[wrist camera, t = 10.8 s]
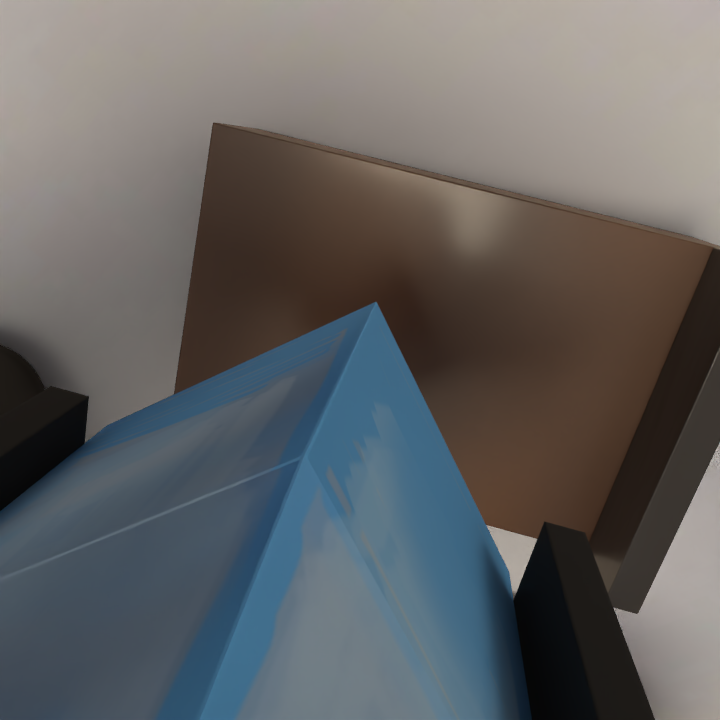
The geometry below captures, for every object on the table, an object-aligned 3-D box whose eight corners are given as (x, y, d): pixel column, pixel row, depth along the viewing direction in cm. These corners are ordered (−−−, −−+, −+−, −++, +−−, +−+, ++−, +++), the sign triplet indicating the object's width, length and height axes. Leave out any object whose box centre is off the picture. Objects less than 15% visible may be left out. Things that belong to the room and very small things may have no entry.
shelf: (211, 392, 30) (131, 474, 22) (255, 128, 26) (176, 117, 18) (586, 494, 29) (637, 614, 21) (692, 236, 25) (801, 272, 17)
